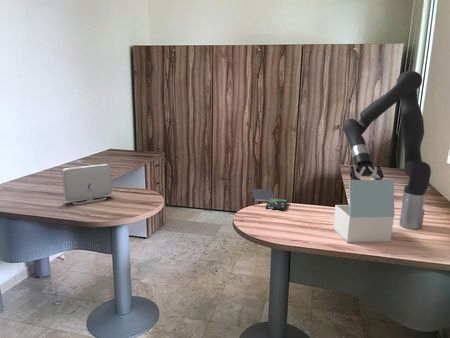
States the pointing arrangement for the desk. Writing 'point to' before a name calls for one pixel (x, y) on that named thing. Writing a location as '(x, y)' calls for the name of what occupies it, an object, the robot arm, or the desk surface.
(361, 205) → the lid flap
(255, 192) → the notebook
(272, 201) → the disk drive
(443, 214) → the desk surface
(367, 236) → the carton
